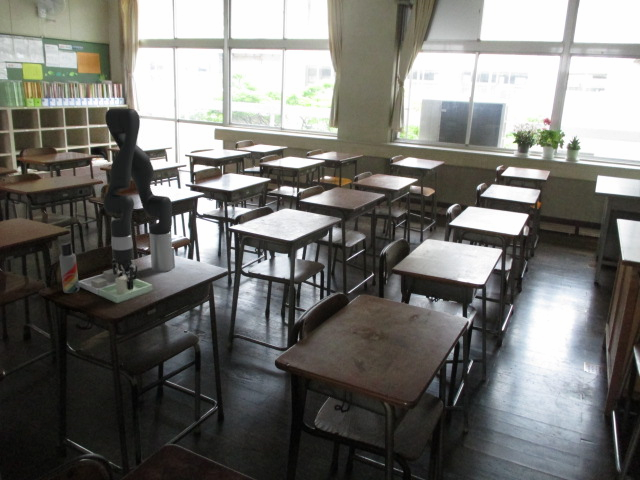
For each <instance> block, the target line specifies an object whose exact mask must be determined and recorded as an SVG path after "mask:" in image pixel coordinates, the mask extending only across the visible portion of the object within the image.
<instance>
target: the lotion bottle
mask: <svg viewBox="0 0 640 480" xmlns="http://www.w3.org/2000/svg"><path fill="white" fill-rule="evenodd" d="M60 251H61V252H60V253H61V254H60V255H59V257H58V258H59V265H60V272H61V273H60V274H61V283H62V290H63V292H64V293H65V294H72V293H76V292H79V291H80V287H79V281H80V280H79V275H78V274H79V273H78V265H77V256H76V254H75V253H73V245H72V243H71V242H70V241H69V242H64V243H62V244H60Z"/></svg>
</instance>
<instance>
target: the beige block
mask: <svg viewBox="0 0 640 480" xmlns="http://www.w3.org/2000/svg"><path fill="white" fill-rule="evenodd" d="M115 282H116V293H119V294H124V293H127V292H130V291H133V289H131V290H128V289H127V279H126V276H124V275H123V276H121V277H118V278H115Z"/></svg>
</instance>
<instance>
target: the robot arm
mask: <svg viewBox="0 0 640 480" xmlns="http://www.w3.org/2000/svg"><path fill="white" fill-rule="evenodd" d="M104 117H105V123H106V127H107V129H108V131H109V132H110V135H111V136H112V138H113V140H114V141H115V143H116V145H117V147H118V149H119V151H118V152H117V154H116V155H115V157H114V159H113V160H112V164H111V168H110V177H109V178H110V180H109V181H110V182H109V185H108V188H107V191H106V194H105V195H104V199H103V209H104V211H105V212H107V213H108V214H116V215H122V216H121V218H116V219H112V221H111V222H110V233H111V241H110V242H111V249H112V250H111V252H112V253H111V254H112V259H111V260H110V264H111V267H112V268H111V269H113V273H114V275H115V274H116V276H117V277H121V276H123V275H124V276H126V279H127V289H128V290H131V289H133V280H135V279H138V278H137V277H138V265H135V266H134V265H132V261H131V260H133V259H134V243H133V237H132V224H131V223H132V217H133V214H134V213H133V212H134V208H135V202H134V198H132V196H130V195H127V194H119V192H120V191H122V190H128V189H129V188H130V186H131V179H132V181H133V183H134V185H135V188H136V190H137V193H138V196H139V200H140V204H141V206H142V209H143V212H144V213H145V214H146V216H149V217H153V218H154V217H155V218H158V222H155V223H153V224H151V225H149V227H148V232H149V234H148V235H149V250H150V261H151V262H150V263H151V269H152V271H153V272H159V273H160V272H161V273H165V272H170V271H172V270H173V269H174V268H176V263H175V262H176V260H175V259H176V258H175V247H174V246H173V243H172V241H173V239H172V227H173V226H172V225H173V205H172V201H171V199H170V197H168V196H163V195H154V193H153V191H152V188H151V183H152V181H153V177H154V175H155V174H154V173H155V172H154V167H153V164H152V161H151V159H150V157H149V154H147V153H146V152H145V151H144V150H143V148H141V147H140V146H139V145H138V144H137V143H138V142H137V141H138V140H137V139H138V137H139V132H140V125H141V121H140V119H141V118H140V114H139V113H138V112H137V110H136V109H134V108H126V107H125V108H110V109H108V110H107V111H106V112H105V116H104ZM115 268H116V270H115ZM128 271H130V272H129V273H126V272H128ZM129 274H130V277H129V276H128V275H129ZM133 275H134V277H133Z"/></svg>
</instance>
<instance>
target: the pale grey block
mask: <svg viewBox="0 0 640 480" xmlns="http://www.w3.org/2000/svg"><path fill="white" fill-rule="evenodd" d="M91 284H92V286H94V287H96V288H98V289H99V288H102V287H105V286H107V280H105V279H102V278H98V279H95V280H92V281H91Z"/></svg>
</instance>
